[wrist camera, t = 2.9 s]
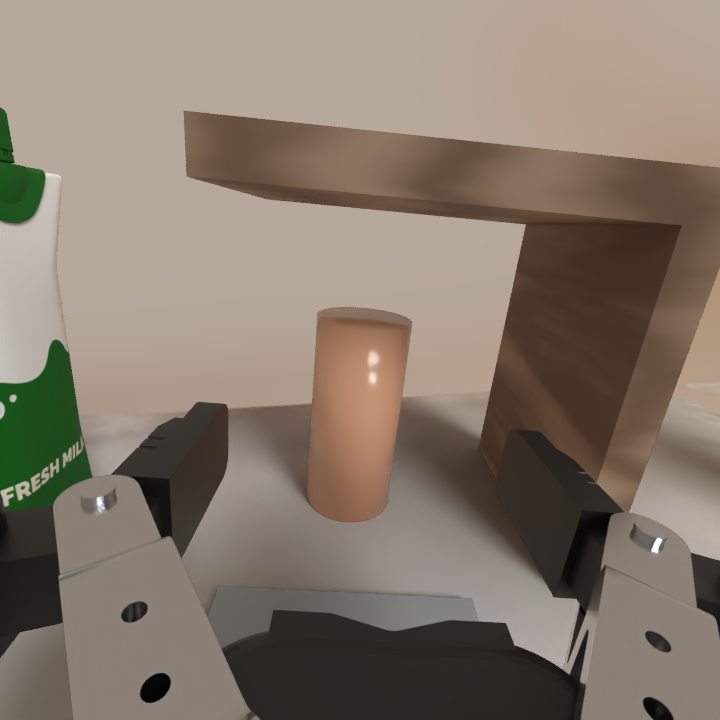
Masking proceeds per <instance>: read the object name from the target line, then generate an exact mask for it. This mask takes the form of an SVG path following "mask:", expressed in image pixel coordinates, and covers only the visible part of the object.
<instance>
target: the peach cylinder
mask: <svg viewBox="0 0 720 720" xmlns="http://www.w3.org/2000/svg"><path fill="white" fill-rule="evenodd" d="M411 328H412V321H411V320H410V319H408V318H406V317H404V316H402V315H399V314H396V313H392V312H387V311H382V310H376V309H368V308H356V307H355V308H354V307H339V308H329V309H325V310H321V311H319V312H318V313H317V330H316V348H315V365H314V383H313V399H312V417H311V434H310V451H309V469H308V486H307V498H308V501H309V503H310V504H311V506H312V507H313V508H314V509H315V510H316V511H317V512H319V513H320V514H322V515H324V516H325V517H328V518H330V519H333V520H337V521H342V522H360V521H365V520H368V519H371V518H374V517H375V516H377V515H379V514H380V513H381V512H382V511H383V510H384V509H385V507H386V506H387V503H388V497H389V490H390V482H391V475H392V468H393V460H394V453H395V445H396V438H397V431H398V423H399V416H400V409H401V401H402V393H403V386H404V379H405V372H406V364H407V356H408V350H409V342H410V335H411Z"/></svg>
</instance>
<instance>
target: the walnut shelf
mask: <svg viewBox="0 0 720 720" xmlns="http://www.w3.org/2000/svg"><path fill="white" fill-rule="evenodd" d="M184 128H185V150H186V173H187V177H191V178H194V179H197V180H201V181H205V182H208V183H212V184H215V185H219V186H222V187H226V188H229V189H233V190H236V191H240V192H244V193H247V194H251V195H254V196H258V197H261V198H264V199H270V200H280V201H290V202H300V203H311V204H321V205H333V206H342V207H352V208H362V209H374V210H383V211H394V212H404V213H415V214H424V215H436V216H445V217H456V218H466V219H476V220H486V221H497V222H507V223H518V224H526V227H525V232H524V236H523V241H522V246H521V251H520V255H519V260H518V264H517V270H516V275H515V279H514V283H513V288H512V293H511V298H510V302H509V308H508V312H507V316H506V321H505V326H504V331H503V335H502V340H501V345H500V350H499V354H498V359H497V364H496V368H495V373H494V378H493V383H492V387H491V392H490V397H489V402H488V406H487V411H486V416H485V420H484V425H483V430H482V435H481V439H480V444H479V450H480V452H481V454H482V455H483V457H484V459H485V461H486V463H487V464H488V466H489V468H490V470H491V471H492V473H493V475H494V477H495V479H496V480H497V475H498V471H499V467H500V462H501V458H502V454H503V450H504V446H505V442H506V438H507V435H508V433H509V431H510V430H511V429H521V430H533V431H540V432H541V433H542V434H543V435H544V436H545V437H546V438H547V439H548V440H549V441H550V442H551V443H552V445H553V446H554V447H555V448H556V449H558V450H559V451H561V452H563V453H564V454H566V455H567V456H569V457H570V458H572V459H574V460H575V461H576V462H577V463H578V464H579V465H580V466H581V467H582V468H583V469H584V470H585V471H586V474H589V476H590V477H591V478H592V479H593V480H594V481H595V483H596V484H598V485H599V486H600V487H601V488H602V489H603V490H604V491H605V492H606V493H607V494H608V495H609V496H610V497H611V498H612V499H613V500H614V501H615V502H616V503H617V504H618V506H619V507H620V508H621V509H622V510H623V511H624V512H626V513H629V511H630V508H631V505H632V503H633V500H634V497H635V494H636V492H637V489H638V486H639V484H640V481H641V478H642V476H643V473H644V470H645V468H646V465H647V462H648V459H649V457H650V454H651V451H652V449H653V446H654V443H655V441H656V438H657V435H658V433H659V430H660V427H661V424H662V422H663V419H664V416H665V414H666V411H667V408H668V406H669V403H670V400H671V398H672V395H673V392H674V389H675V387H676V384H677V381H678V378H679V376H680V373H681V371H682V368H683V365H684V362H685V360H686V357H687V354H688V352H689V349H690V346H691V343H692V341H693V338H694V335H695V333H696V330H697V327H698V325H699V322H700V319H701V317H702V314H703V311H704V309H705V306H706V303H707V301H708V298H709V295H710V292H711V290H712V287H713V284H714V282H715V279H716V276H717V273H718V271H719V268H720V168H718V167H708V166H699V165H690V164H680V163H671V162H662V161H652V160H643V159H633V158H623V157H614V156H605V155H595V154H586V153H577V152H567V151H558V150H549V149H539V148H529V147H520V146H510V145H501V144H492V143H483V142H473V141H463V140H454V139H444V138H435V137H426V136H416V135H407V134H397V133H388V132H379V131H369V130H360V129H350V128H340V127H331V126H322V125H313V124H303V123H294V122H284V121H275V120H265V119H256V118H247V117H237V116H227V115H218V114H209V113H200V112H189V111H184Z"/></svg>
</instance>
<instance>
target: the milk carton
mask: <svg viewBox="0 0 720 720" xmlns="http://www.w3.org/2000/svg"><path fill="white" fill-rule="evenodd" d="M12 152H13V148H12V142H11V136H10V131H9V126H8V120H7V114H6V113H5V111H4V110H3V109H2V108H0V495H1V496H2V498H3V503H4V508H5V512H7V511H14V510H22V509H30V508H38V507H45V506H52V505H53V504H54V502H55V500H56V499H57V497H58V496H59V495H60V494H61V493H62V492H64V491H65V490H66V489H68V488H69V487H71V486H73V485H75V484H77V483H79V482H81V481H84V480H87V479H90V478H92V474H91V470H90V465H89V461H88V457H87V453H86V448H85V444H84V440H83V436H82V432H81V427H80V421H79V415H78V409H77V403H76V396H75V389H74V382H73V376H72V369H71V363H70V356H69V350H68V343H67V336H66V329H65V323H64V316H63V310H62V303H61V296H60V289H59V282H58V275H57V245H58V230H59V214H60V200H61V186H62V178H61V177H60V176H59V175H57V174H51V173H44V171H43V170H40V169H34V168H28V167H27V168H26V167H24V166H20V165H15V164H11V163H14V157H13V155H12Z"/></svg>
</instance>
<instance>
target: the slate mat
mask: <svg viewBox="0 0 720 720" xmlns="http://www.w3.org/2000/svg"><path fill="white" fill-rule="evenodd" d="M273 610H289V611H306V612H323V613H333V614H337V615H340V616H343V617H346V618H350V619H353V620H356V621H359V622H363V623H366V624H369V625H372V626H376V627H379V628H382V629H385V630H390V631H399V630H404V629H408V628H413V627H418V626H423V625H428V624H432V623H437V622H442V621H447V620H461V621H478V622H479V620H478V617H477V614H476V611H475V607H474V604H473V601H472V599H467V598H448V597H428V596H409V595H390V594H370V593H351V592H332V591H312V590H293V589H274V588H254V587H235V586H218V589H217V591H216V594H215V597H214V600H213V602H212V605H211V608H210V610H209V613H208V616H207V618H208V620H209V622H210V625H211V627H212V629H213V631H214V634H215V636H216V638H217V640H218V643H219V645H220V647H221V649H222V648H223V647H225V646H227V645H229V644H231V643H233V642H235V641H237V640H240V639H242V638H244V637H247V636H250V635H254V634H257V633H260V632H265V631H269V628H270V623H271V618H272V613H273Z"/></svg>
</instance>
